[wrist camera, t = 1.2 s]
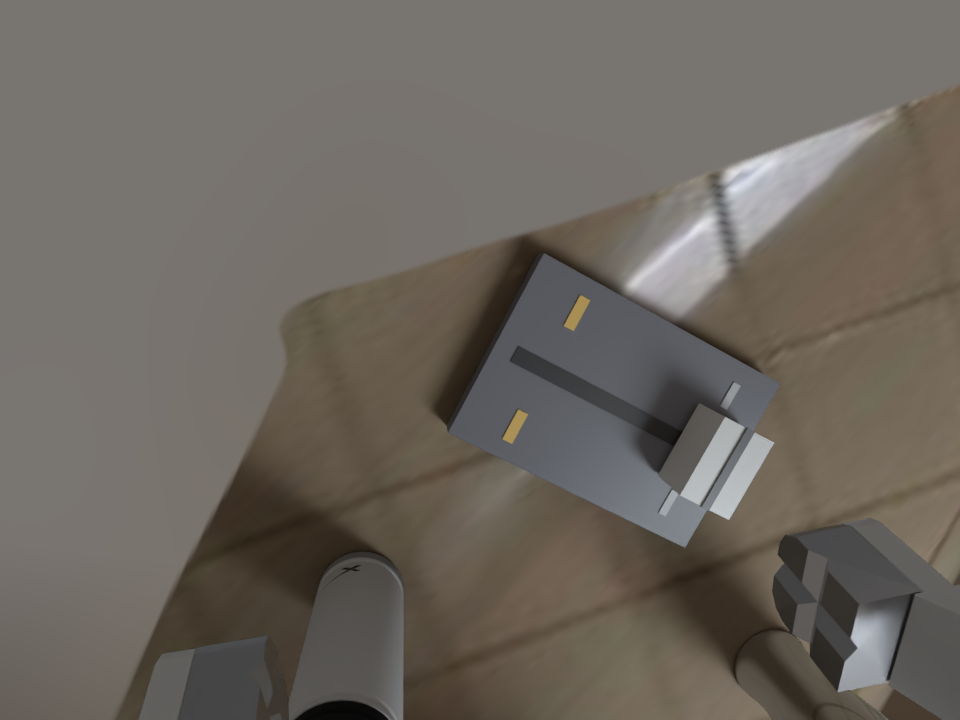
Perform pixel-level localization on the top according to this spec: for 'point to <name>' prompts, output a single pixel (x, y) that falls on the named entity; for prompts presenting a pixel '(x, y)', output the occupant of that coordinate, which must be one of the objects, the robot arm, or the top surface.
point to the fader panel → (600, 396)
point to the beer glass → (794, 682)
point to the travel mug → (353, 644)
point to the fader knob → (714, 461)
